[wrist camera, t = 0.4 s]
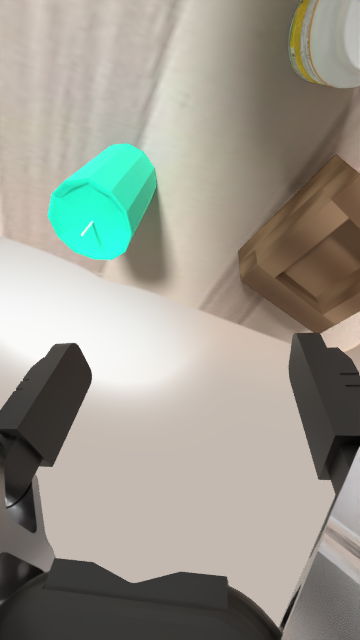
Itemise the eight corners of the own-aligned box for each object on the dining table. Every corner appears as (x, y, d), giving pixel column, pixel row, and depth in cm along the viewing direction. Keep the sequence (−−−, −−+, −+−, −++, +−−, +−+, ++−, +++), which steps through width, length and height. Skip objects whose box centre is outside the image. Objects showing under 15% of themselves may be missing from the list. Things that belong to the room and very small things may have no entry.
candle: (169, 175, 26) (143, 232, 17) (136, 220, 29) (101, 286, 21) (116, 126, 23) (55, 163, 15) (87, 181, 27) (24, 237, 18)
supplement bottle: (277, 80, 20) (307, 89, 13) (303, -37, 16) (363, -108, 9) (350, 84, 20) (418, 96, 13) (393, -34, 16) (521, -105, 9)
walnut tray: (335, 153, 23) (361, 174, 19) (406, 233, 27) (440, 265, 23) (238, 249, 30) (241, 280, 26) (305, 301, 35) (317, 335, 30)
